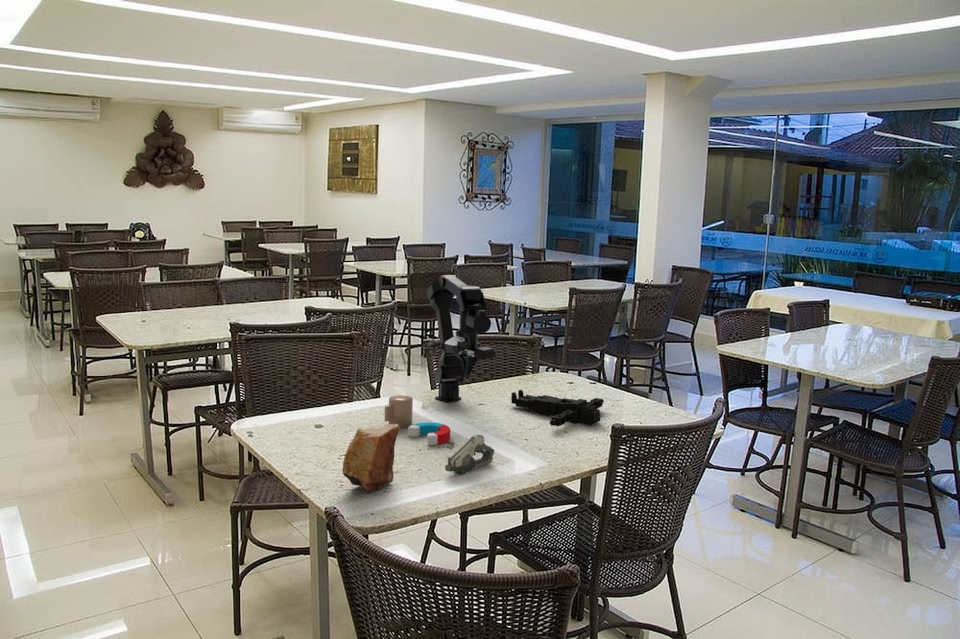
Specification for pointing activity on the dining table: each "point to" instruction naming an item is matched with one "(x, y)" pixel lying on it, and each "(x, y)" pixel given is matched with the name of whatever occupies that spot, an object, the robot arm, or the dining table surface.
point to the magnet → (430, 432)
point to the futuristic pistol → (470, 456)
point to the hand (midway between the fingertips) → (467, 375)
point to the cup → (399, 411)
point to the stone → (371, 457)
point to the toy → (561, 408)
